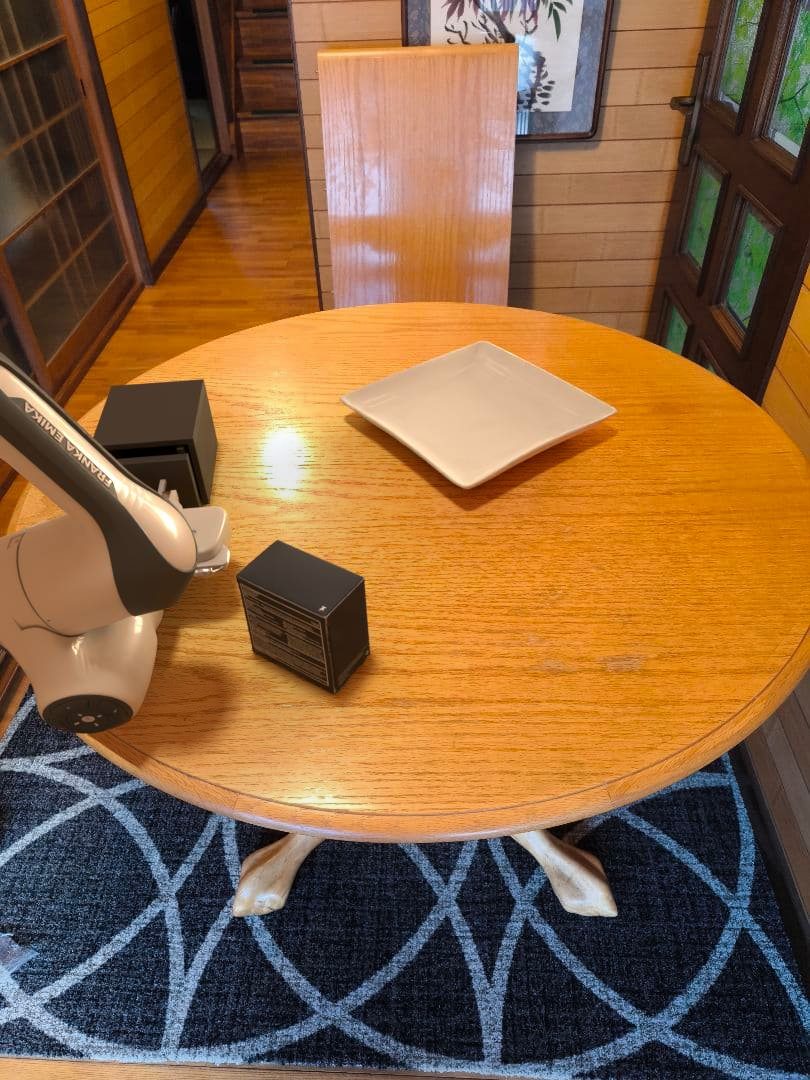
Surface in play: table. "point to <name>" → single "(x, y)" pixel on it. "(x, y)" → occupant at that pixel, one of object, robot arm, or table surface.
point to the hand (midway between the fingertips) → (141, 497)
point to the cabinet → (162, 423)
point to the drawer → (163, 470)
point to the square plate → (477, 411)
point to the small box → (305, 614)
